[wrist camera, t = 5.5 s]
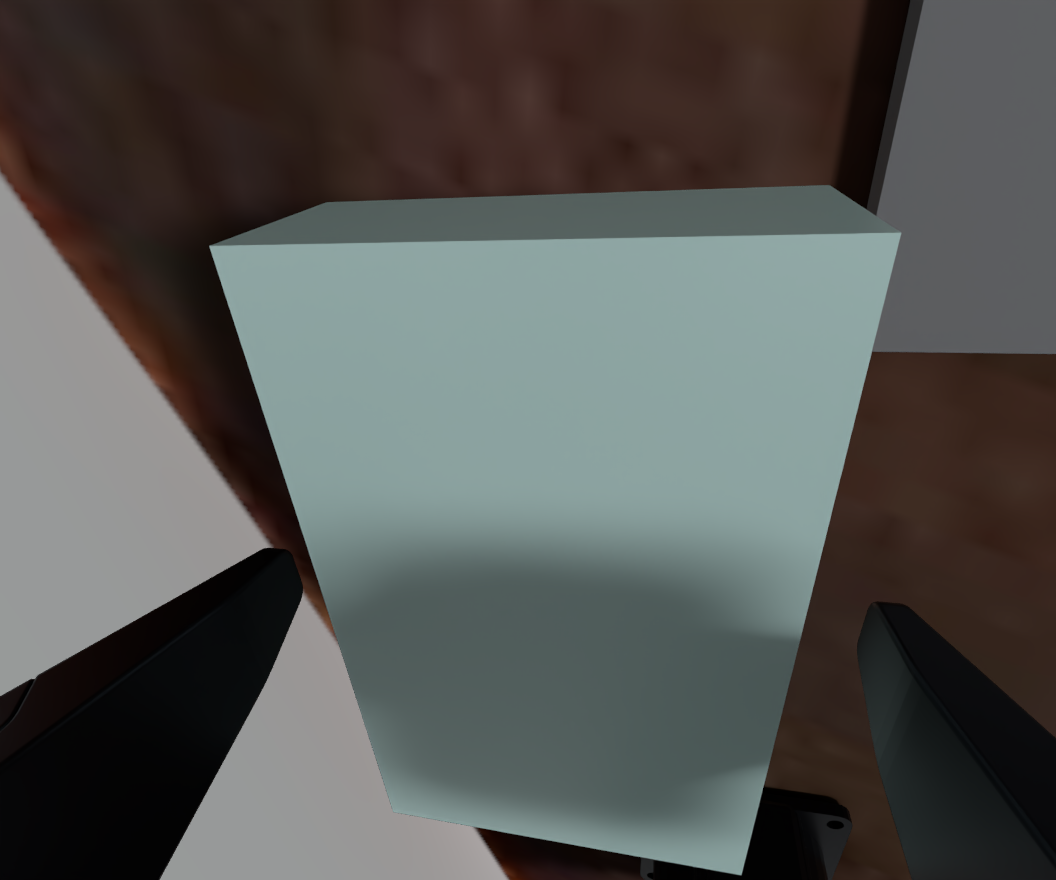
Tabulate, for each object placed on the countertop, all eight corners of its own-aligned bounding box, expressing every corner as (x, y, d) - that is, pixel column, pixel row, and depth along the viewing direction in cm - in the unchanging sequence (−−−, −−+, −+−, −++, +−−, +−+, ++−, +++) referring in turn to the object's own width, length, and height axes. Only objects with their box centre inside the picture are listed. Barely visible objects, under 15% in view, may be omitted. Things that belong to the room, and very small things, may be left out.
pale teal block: (728, 738, 13) (741, 875, 11) (435, 698, 14) (393, 811, 12) (829, 184, 7) (901, 232, 5) (326, 202, 8) (208, 245, 6)
